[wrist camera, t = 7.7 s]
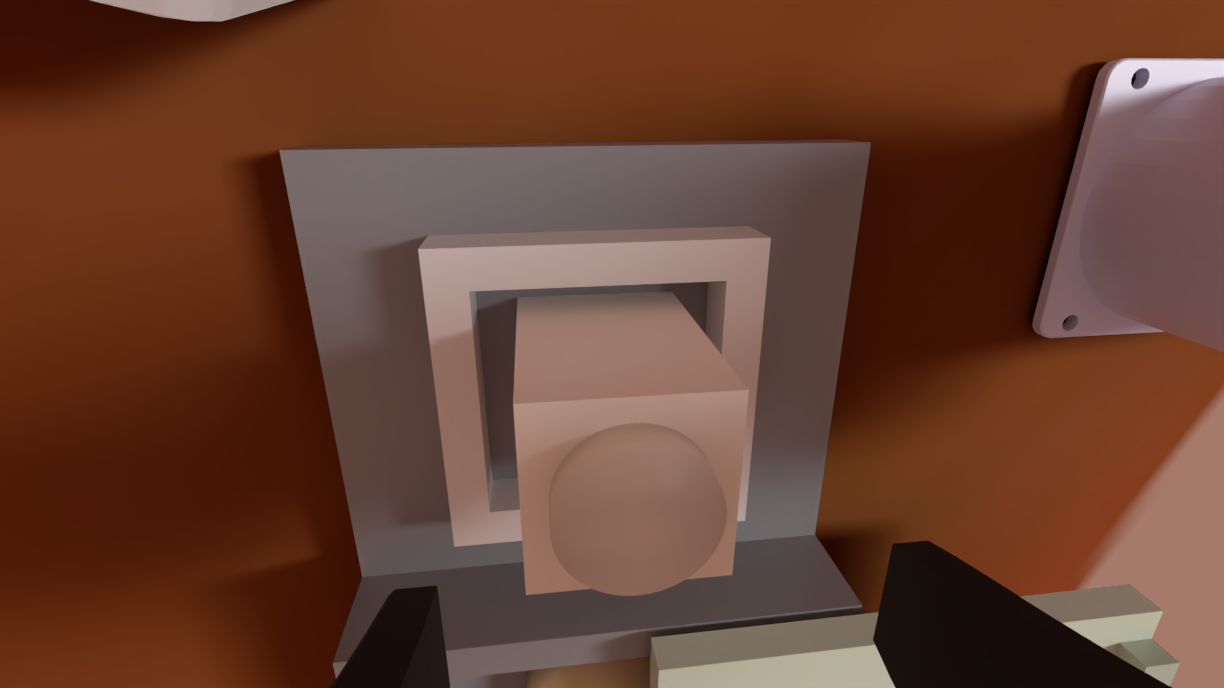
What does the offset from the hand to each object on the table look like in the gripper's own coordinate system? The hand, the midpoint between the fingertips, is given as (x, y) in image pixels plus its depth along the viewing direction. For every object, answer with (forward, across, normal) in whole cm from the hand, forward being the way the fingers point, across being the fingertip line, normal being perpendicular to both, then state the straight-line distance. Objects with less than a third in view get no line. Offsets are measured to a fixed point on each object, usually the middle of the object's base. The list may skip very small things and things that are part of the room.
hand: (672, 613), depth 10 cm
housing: (+9, 0, +4) cm, 10 cm away
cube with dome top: (+8, 0, -1) cm, 8 cm away
